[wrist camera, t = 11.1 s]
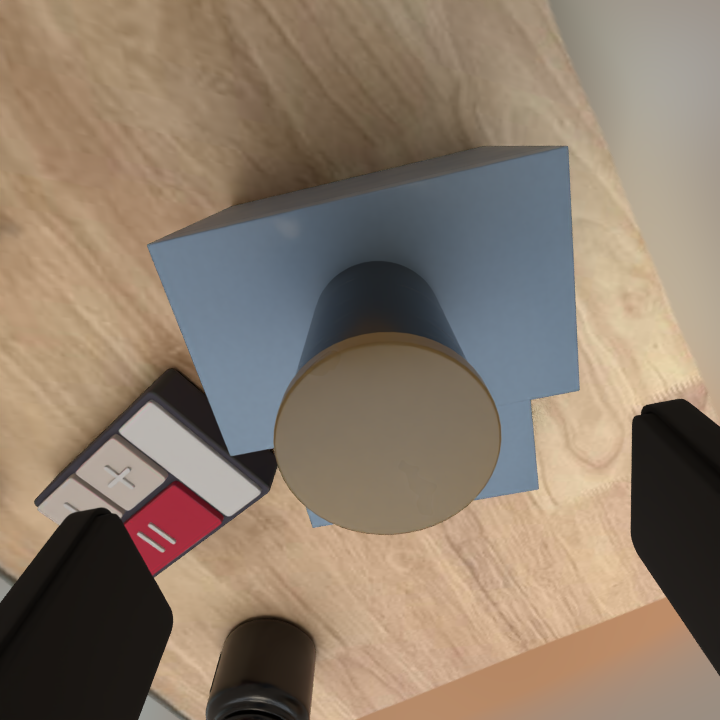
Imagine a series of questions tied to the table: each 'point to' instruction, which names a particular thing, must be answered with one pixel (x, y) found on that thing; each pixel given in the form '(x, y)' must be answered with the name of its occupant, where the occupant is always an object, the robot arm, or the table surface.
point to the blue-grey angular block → (397, 245)
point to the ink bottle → (263, 674)
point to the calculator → (162, 474)
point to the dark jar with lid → (385, 408)
